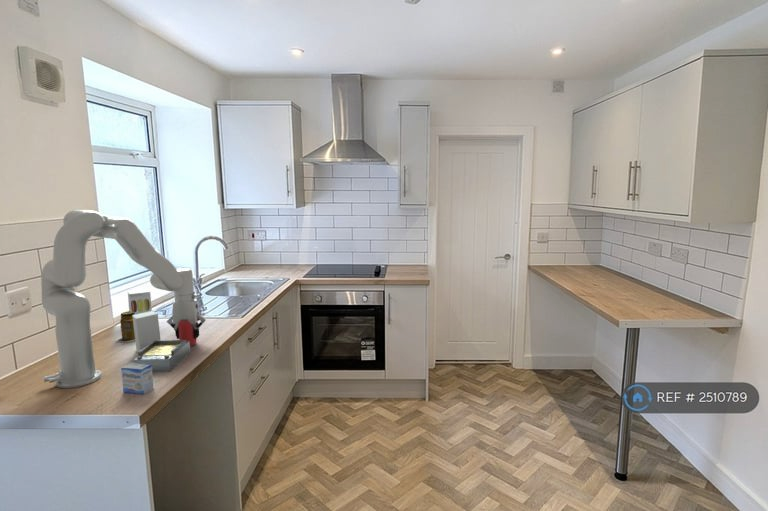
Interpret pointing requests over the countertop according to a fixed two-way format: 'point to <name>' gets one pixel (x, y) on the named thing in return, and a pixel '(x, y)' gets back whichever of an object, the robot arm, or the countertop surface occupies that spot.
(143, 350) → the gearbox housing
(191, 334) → the beer can
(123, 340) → the condiment
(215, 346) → the countertop surface
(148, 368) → the medicine box
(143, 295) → the supplement box
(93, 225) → the robot arm
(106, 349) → the countertop surface
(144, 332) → the skincare box
